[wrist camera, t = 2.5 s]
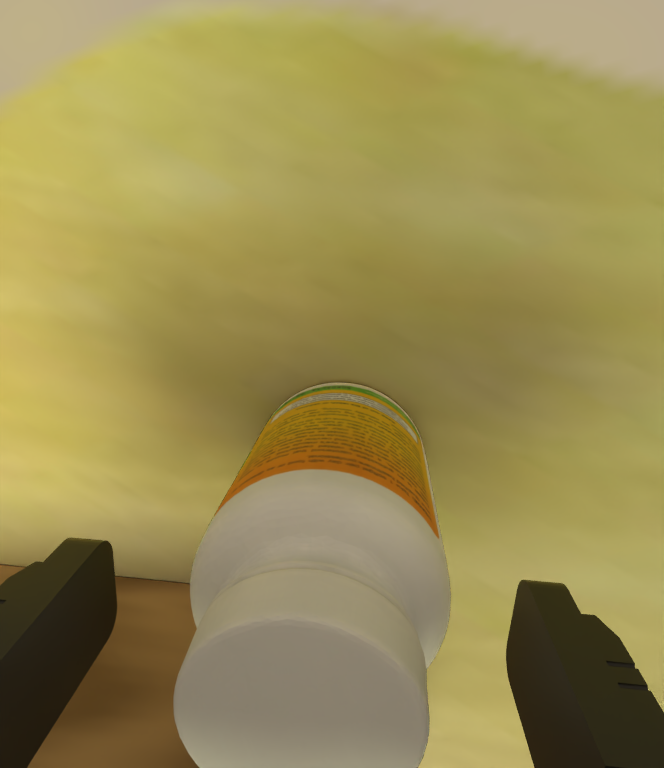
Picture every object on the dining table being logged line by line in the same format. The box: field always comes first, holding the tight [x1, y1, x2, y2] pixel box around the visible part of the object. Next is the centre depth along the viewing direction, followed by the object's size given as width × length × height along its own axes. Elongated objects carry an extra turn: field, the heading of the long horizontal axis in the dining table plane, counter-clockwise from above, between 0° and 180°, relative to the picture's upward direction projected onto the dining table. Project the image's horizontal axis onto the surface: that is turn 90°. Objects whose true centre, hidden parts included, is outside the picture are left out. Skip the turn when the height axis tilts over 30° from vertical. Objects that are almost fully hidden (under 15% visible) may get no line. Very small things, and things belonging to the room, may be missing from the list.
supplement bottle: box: [173, 383, 451, 768], centre depth 13 cm, size 5×5×10 cm
